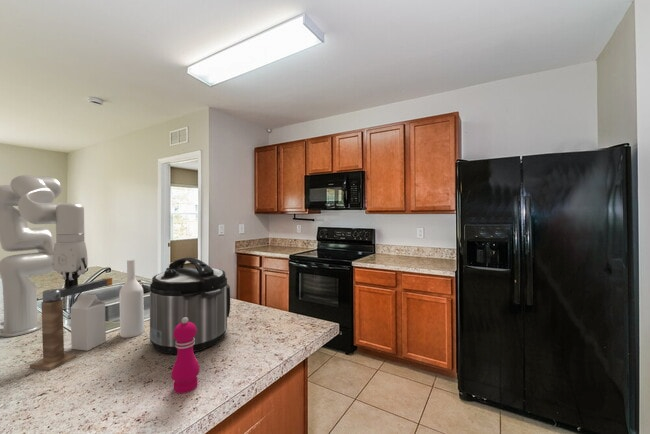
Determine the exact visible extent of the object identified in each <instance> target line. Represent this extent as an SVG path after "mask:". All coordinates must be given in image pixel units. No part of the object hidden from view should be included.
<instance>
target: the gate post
mask: <svg viewBox="0 0 650 434" xmlns="http://www.w3.org/2000/svg"><path fill="white" fill-rule="evenodd" d="M63 304H64V303H63V299H62V298H61V299H60V300H57V301H52V302H43V301H41V304H40V305H41V323H42V327H41V331H42V333H41V334H42V338H41V339H42V359H38V360H37V361H35V362H32V363H31V364H30V363H29V368H30V369H37V370H44V371H45V370H46V371H52V370H55V369H56V368H59V367H60V366H62V365H64V364H66V363H68V362H70V361H72V360H74V359H76V358H77V354H73V353H65V343H64V342H65V341H64V313H63V312H64V309H63V306H64V305H63Z"/></svg>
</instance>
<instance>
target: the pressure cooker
mask: <svg viewBox="0 0 650 434" xmlns="http://www.w3.org/2000/svg"><path fill="white" fill-rule="evenodd" d="M186 262H188V263H190V264H192V265H193V266H194V267H190V266H188V267H186V266H185V264H186ZM184 266H185V267H184ZM230 313H231V287H230V285H229V284H228V278H227V276H226V271H224V270H222V269H220V268H212V267H210V266H209V265H208V263H205V262H204V261H202V260H200V259H198V258H194V257H182V258H178V259H176V260H174V261H172V262H171V263H170V264H168V267H167V268H166V269H165V271H164V272H160V273H158V274H155V275H154V276H152V279H151V283H150V285H149V341H150V343H151V345H152V347H153V348H154V349H155V350H156V351H158V352H161V353H163V354H173V355H174V354H176V355H177V348H176V346H175V345H176V343H175V342H176V339H175V338H174V336H173V332H174V329H175V327H176V326H177V325H178V324H180V323H182V319H183V318H184V317H187V318H188V322H192V323H193V324H195V326H196V329H197V332H196V335H195V336H194V338H195V344H194V345H193V352H197V351H202V350H204V349H208V348H209V347H212V346H213V345H216V344H217V343H218V342H220V341H221V340H222V338H224V336H225V335H226V334H227V333H226V332H227V330H228V318H229V317H230Z"/></svg>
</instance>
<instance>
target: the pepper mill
mask: <svg viewBox="0 0 650 434" xmlns="http://www.w3.org/2000/svg"><path fill="white" fill-rule="evenodd" d="M196 332H197V329H196V326H195V324H193V323H192V322H188V318H187V317H184V318H183V319H182V323H180V324H178V325H177V326H176V327H175V329H174V332H173V336H174V338H175V339H176V342H175V343H176V345H175V346H176V348H177V354H176V359H175V362H174V364H173V366H172V369H171V375H170V376H171V379H172V380H173V391H174V393H175V394H176V393H177V394H186V393H189V392H191V391H194V390H195V389H196V388H197V387H198V382H199V381H198V379H199V377H198V375H199V373H200V364H199V361H198V360H197V358H196V355H195V353H194V352H195V351H194V352H193V345H194V344H195V338H194V336H195V335H196Z"/></svg>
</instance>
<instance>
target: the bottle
mask: <svg viewBox="0 0 650 434" xmlns="http://www.w3.org/2000/svg"><path fill="white" fill-rule="evenodd" d="M126 273H127V274H126V276H127V277H126V281H124V284H123V286H122V287H121V288H120V290H119V296H118V297H119V334H120V335H119V336H120V337H121V338H132V337H137V336H140V335H141V334H143V333H144V332H145V311H144V309H145V307H144V304H145V303H144V287H143V286H142V285H141V283H139V282H138V281H139V280H137V279H136V260H135V259H132V258H130V259H127V260H126Z"/></svg>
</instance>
